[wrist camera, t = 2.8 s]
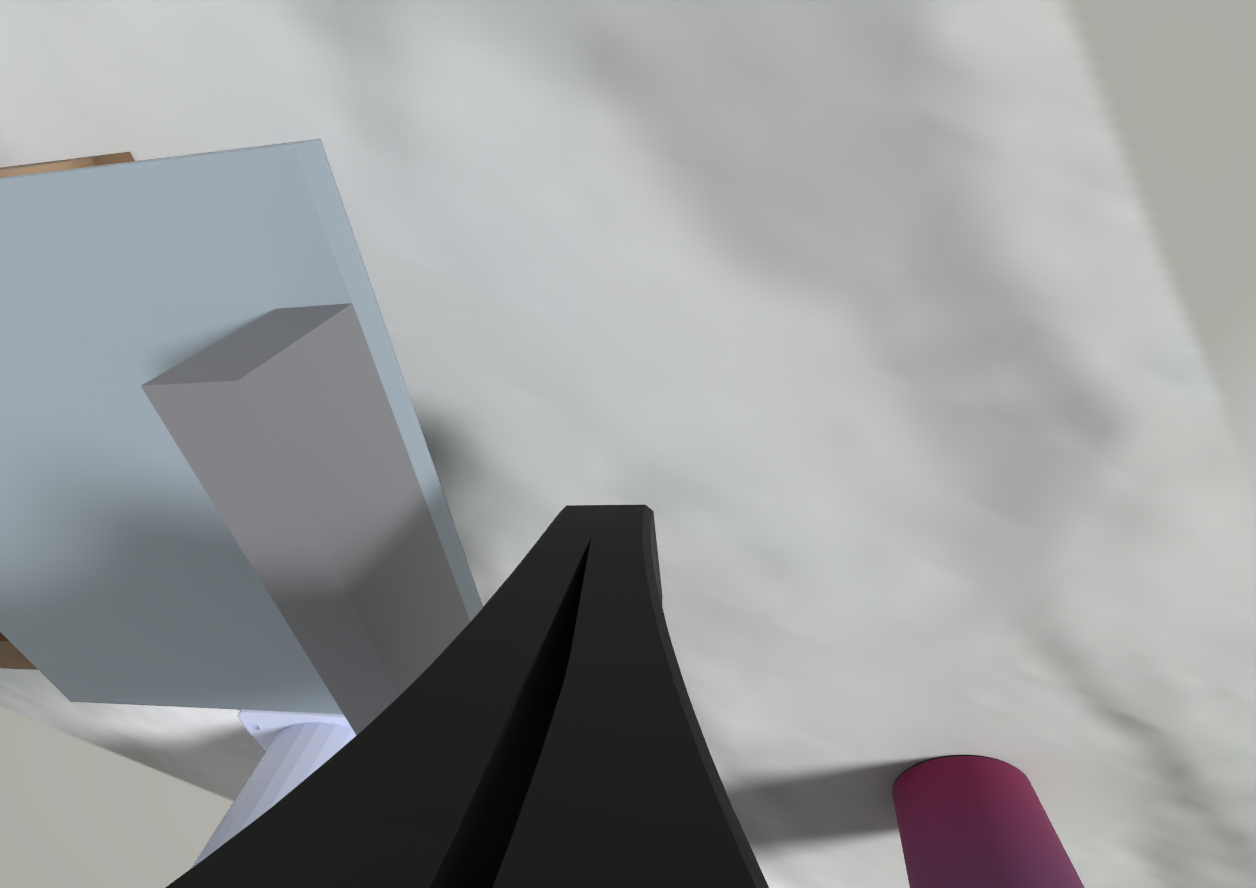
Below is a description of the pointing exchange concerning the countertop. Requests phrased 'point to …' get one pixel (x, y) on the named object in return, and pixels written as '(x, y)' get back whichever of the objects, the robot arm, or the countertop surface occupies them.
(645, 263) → the countertop surface
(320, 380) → the lid
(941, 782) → the cup
